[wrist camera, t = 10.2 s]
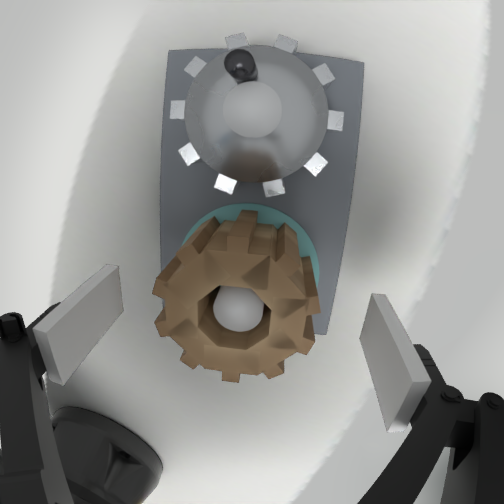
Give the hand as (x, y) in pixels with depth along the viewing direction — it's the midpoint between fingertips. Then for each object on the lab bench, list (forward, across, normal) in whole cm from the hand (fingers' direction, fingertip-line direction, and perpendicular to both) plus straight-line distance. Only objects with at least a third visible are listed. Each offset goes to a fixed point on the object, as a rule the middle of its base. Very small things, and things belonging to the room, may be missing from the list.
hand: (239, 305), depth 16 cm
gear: (+4, 0, -9) cm, 10 cm away
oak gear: (+4, 0, 0) cm, 4 cm away
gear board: (+5, 0, -5) cm, 7 cm away
